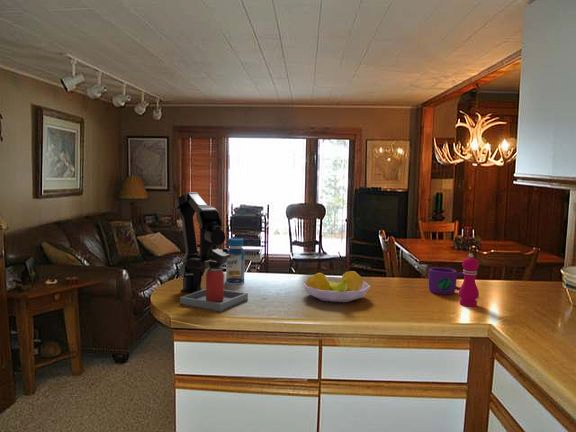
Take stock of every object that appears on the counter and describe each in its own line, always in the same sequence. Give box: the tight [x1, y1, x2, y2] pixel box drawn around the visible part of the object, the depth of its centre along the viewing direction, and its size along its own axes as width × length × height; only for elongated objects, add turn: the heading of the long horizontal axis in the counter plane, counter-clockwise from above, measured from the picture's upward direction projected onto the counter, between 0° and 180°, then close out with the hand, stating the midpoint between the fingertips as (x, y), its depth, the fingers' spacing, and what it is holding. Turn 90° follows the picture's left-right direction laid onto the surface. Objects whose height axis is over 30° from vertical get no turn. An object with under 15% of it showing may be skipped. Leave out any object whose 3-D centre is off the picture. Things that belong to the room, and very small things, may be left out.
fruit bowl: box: [302, 270, 371, 304], centre depth 178 cm, size 28×27×11 cm
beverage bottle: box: [225, 237, 246, 285], centre depth 201 cm, size 8×8×20 cm
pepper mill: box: [458, 253, 480, 308], centre depth 174 cm, size 7×7×20 cm
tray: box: [179, 288, 249, 313], centre depth 169 cm, size 18×18×3 cm
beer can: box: [205, 267, 225, 302], centre depth 168 cm, size 7×7×12 cm
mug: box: [428, 266, 464, 296], centre depth 192 cm, size 17×11×10 cm, turn 83°
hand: (206, 282), depth 170 cm, fingers open, 9 cm apart
